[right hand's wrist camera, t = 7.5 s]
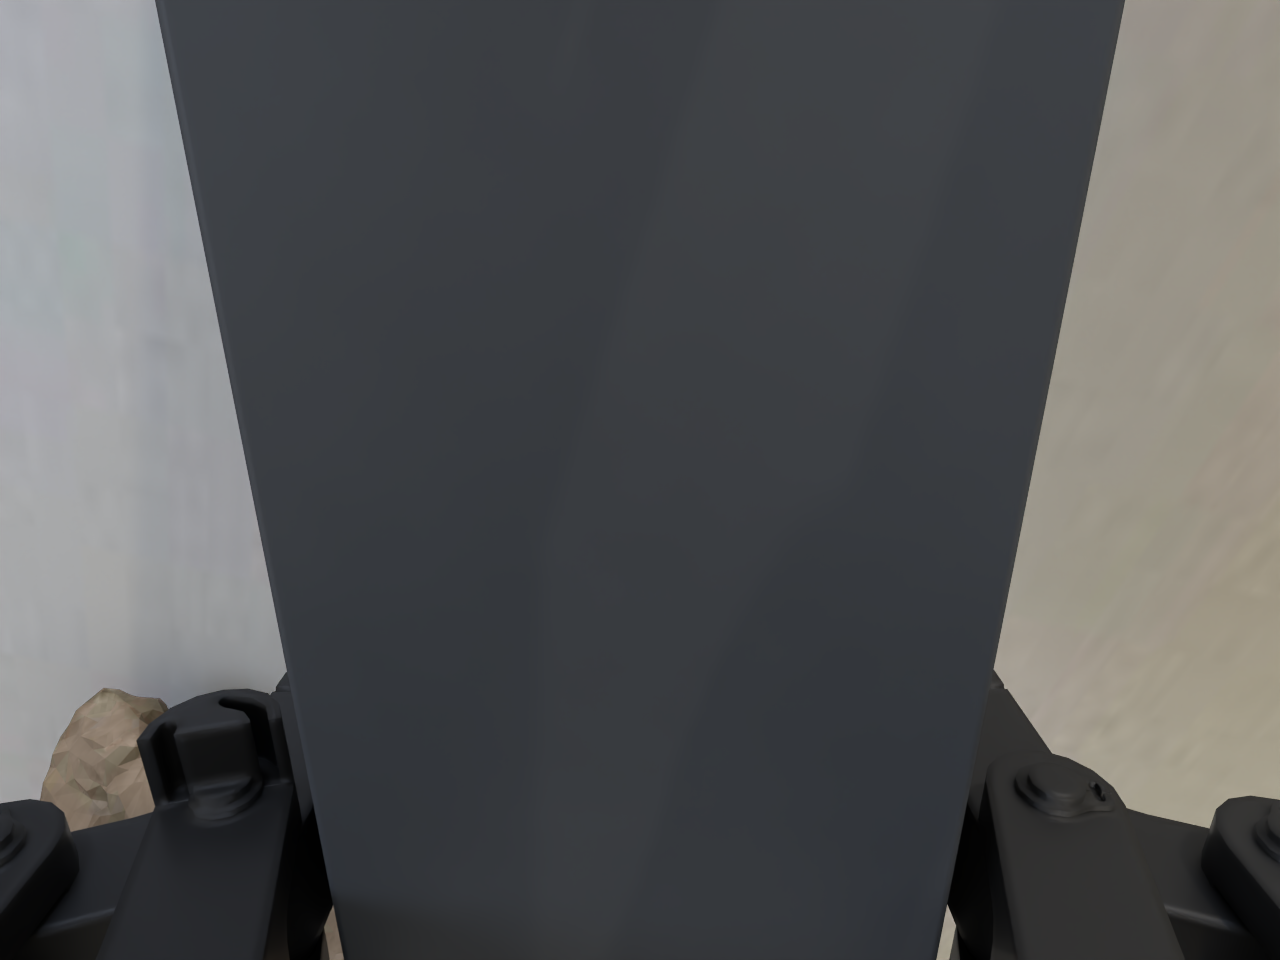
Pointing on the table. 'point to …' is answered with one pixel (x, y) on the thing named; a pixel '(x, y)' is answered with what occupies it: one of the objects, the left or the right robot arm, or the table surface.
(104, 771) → the stone
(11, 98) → the table surface
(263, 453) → the bar
